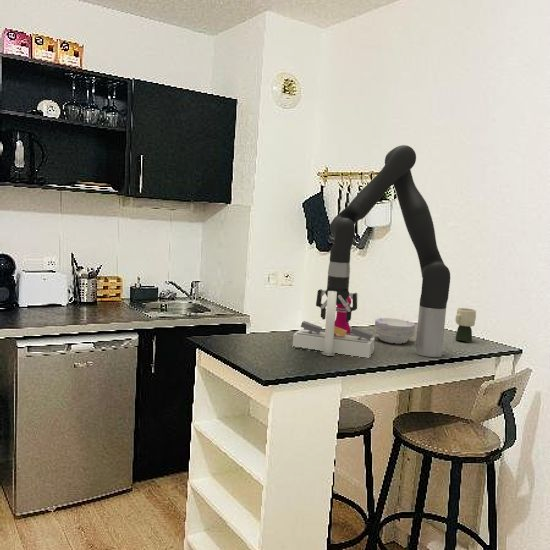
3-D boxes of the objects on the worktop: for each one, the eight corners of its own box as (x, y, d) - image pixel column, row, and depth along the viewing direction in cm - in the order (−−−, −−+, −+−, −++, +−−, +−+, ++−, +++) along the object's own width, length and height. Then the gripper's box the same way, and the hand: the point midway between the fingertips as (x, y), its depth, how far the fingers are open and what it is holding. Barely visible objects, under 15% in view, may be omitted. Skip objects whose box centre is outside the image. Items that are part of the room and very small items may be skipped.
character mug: (465, 338, 230) (469, 307, 229) (479, 342, 224) (483, 310, 223) (447, 340, 225) (450, 308, 224) (460, 344, 219) (464, 311, 217)
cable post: (335, 354, 192) (340, 291, 189) (332, 357, 187) (337, 293, 185) (323, 353, 193) (327, 290, 190) (320, 355, 189) (324, 291, 186)
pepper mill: (343, 346, 204) (347, 292, 202) (326, 342, 208) (330, 289, 206) (353, 343, 210) (357, 290, 207) (336, 339, 214) (340, 288, 212)
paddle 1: (320, 332, 200) (322, 327, 200) (318, 333, 198) (320, 328, 197) (302, 325, 202) (304, 320, 202) (300, 326, 200) (302, 322, 199)
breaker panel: (373, 351, 199) (374, 336, 198) (368, 358, 189) (370, 342, 188) (301, 341, 208) (302, 326, 207) (292, 348, 197) (293, 332, 196)
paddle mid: (345, 335, 198) (347, 330, 197) (343, 336, 195) (345, 332, 195) (327, 328, 200) (328, 323, 199) (325, 330, 197) (326, 325, 197)
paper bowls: (421, 345, 213) (423, 324, 212) (387, 346, 208) (389, 325, 207) (398, 336, 227) (400, 316, 226) (366, 337, 222) (367, 317, 221)
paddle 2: (370, 338, 195) (372, 333, 195) (369, 340, 192) (371, 335, 192) (351, 331, 197) (353, 326, 196) (350, 333, 194) (351, 328, 194)
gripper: (360, 275, 196) (357, 321, 198) (321, 272, 201) (318, 316, 203) (357, 277, 189) (353, 324, 191) (316, 274, 194) (313, 319, 196)
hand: (335, 320), depth 197 cm, fingers open, 8 cm apart
